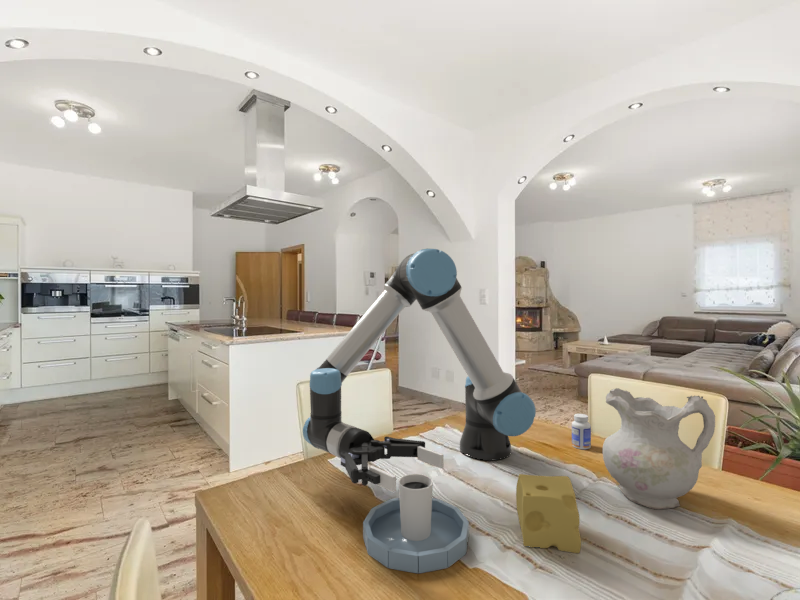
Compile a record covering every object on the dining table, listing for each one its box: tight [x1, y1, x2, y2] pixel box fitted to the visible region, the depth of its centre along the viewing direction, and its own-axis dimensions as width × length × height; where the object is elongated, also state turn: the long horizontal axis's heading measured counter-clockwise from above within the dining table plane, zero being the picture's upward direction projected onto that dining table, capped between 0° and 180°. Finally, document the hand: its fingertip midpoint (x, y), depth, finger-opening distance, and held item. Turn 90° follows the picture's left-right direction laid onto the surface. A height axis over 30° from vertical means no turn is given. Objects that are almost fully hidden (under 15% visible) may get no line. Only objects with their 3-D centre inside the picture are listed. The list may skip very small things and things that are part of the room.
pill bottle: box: [571, 413, 592, 450], centre depth 126 cm, size 5×5×10 cm
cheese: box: [515, 473, 582, 554], centre depth 80 cm, size 10×11×10 cm
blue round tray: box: [362, 497, 470, 574], centre depth 80 cm, size 20×20×3 cm
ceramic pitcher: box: [602, 387, 716, 510], centre depth 95 cm, size 22×20×25 cm
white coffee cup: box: [398, 473, 434, 541], centre depth 80 cm, size 7×7×10 cm
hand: (420, 472), depth 78 cm, fingers open, 13 cm apart
